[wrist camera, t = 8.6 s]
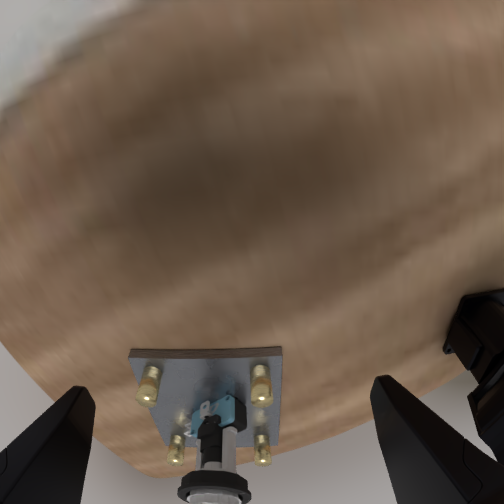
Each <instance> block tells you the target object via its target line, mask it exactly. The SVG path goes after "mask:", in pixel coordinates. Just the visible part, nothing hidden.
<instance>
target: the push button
mask: <svg viewBox="0 0 504 504" xmlns="http://www.w3.org/2000/svg"><path fill="white" fill-rule="evenodd" d="M205 405H207V406H206V407H204V406H205ZM189 425H191V427H190V426H189ZM185 427H187V428H189V429H190V430H189V431H187V432H184V434H185V435H187V436H188V437H191V436H194V437H195V438H197V439H198V440H197V441H196V444H197V457H196V470H195V471H192V472H190V473H188V474H187V475H185V476H184V477H183V478H182V482H181V486H180V487H179V488H178V493H177V494H178V497H179V498H181V499H182V500H184V501H186V502H188V503H190V504H246V503H248V502H249V501H250V500H251V492H250V491H249V490H248V483H247V480H246V479H244V478H243V477H241V476H239V475H238V474H237V472H236V434H237V433H239V432H241V431H243V430H245V429H246V428H247V407H246V406H245V405H244V404H242V403H241V402H239V401H238V400H236V399H235V398H233V397H232V396H230V395H227V396H225V397H224V398H222V399H220V400H218V401H216V402H214V403H212V404H210V401H206V402H204V403H202V404H201V406H200V409H199V410H197V411H195V412H194V413H193V415H192V421H191V422H190V423H188V424H186V425H185ZM188 433H190V434H188Z"/></svg>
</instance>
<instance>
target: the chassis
mask: <svg viewBox="0 0 504 504" xmlns="http://www.w3.org/2000/svg"><path fill="white" fill-rule="evenodd" d="M128 359H129V362H130V364H131V367H132V369H133V372H134V375H135V377H136V380H137V382H138V385H139V388H138V391H137V395H136V401H137V403H139V404H140V405H142V406H144V407H148V408H149V411H150V413H151V415H152V417H153V420H154V422H155V424H156V426H157V428H158V430H159V433H160V435H161V437H162V439H163V441H164V443H165V445H166V446H169V450H168V457H167V463H168V464H170V465H173V466H182V465H183V460H184V450H185V447H197V444H196V441H197V440H198V439H197V438H195V437H194V436H191V437H188V436H187V435H185V434H184V432H187V431H189V430H190V429H189V428H187V427H185V425H186V424H188V423H190V422H191V421H192V415H193V413H194V412H195V411H197V410H199V409H200V406H201V404H202V403H204V402H206V401H210V404H212V403H214V402H216V401H218V400H220V399H222V398H224V397H225V396H227V395H230V396H232V397H233V398H235V399H236V400H238V401H239V402H241V403H242V404H244V405H245V406H246V407H247V428H246V429H245V430H243V431H241V432H239V433H237V434H236V447H254V455H255V465H257V466H268V465H270V464H271V463H272V461H271V450H270V446H275V445H278V436H279V418H280V398H281V377H282V350H281V347H269V348H250V349H224V350H139V349H131V351H130V353H129V356H128ZM206 406H207V405H205V406H204V407H206ZM189 426H190V427H191V425H189ZM188 434H190V433H188Z"/></svg>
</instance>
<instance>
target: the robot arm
mask: <svg viewBox="0 0 504 504" xmlns="http://www.w3.org/2000/svg"><path fill="white" fill-rule="evenodd" d="M443 352H444V353H445V354H451V353H456V355H457V356H458V358H459V359H460V361H461V362H462V364H463V365H464V367H465V368H466V370H470V371H471V373H472V374H473V376H474V377H475V379H476V380H477V382H478V384H479V385H478V386H477V388H475V390H474V391H473V392H471V393H470V394H469V395H468V396H467V398H468V401H469V405H470V408H471V411H472V414H473V418H474V421H475V425H476V429H477V432H478V435H479V437H480V438H481V439H482V440H483V441H484V442H485V444H487V445H488V446H489V447H490V448H491V450H492V451H493V453H494V455H495V457H496V459H497V461H495V460H494V459H492V458H490V457H489V456H488V455H486V454H485V453H483V452H482V451H481V450H479V449H478V448H477V447H476V446H474V445H473V444H472V443H471V442H469V441H468V440H467V439H464V437H463V436H462V435H461V434H460V433H458V432H457V431H456V430H455V429H454V428H452V427H451V426H450V425H448V423H446V422H445V421H444V420H443V419H442V418H440V417H439V416H438V415H437V414H436V413H434V412H433V411H432V410H431V409H430V408H428V407H427V406H426V405H425V404H424V403H422V402H421V401H420V400H419V399H418V398H416V397H415V396H414V395H413V394H412V393H410V392H409V391H408V390H407V389H406V388H404V387H403V386H402V385H401V384H400V383H398V382H397V381H396V380H395V379H394V378H392V377H391V376H390V375H382V376H377V377H376V378H375V380H374V383H373V386H372V390H371V393H370V400H371V405H372V410H373V415H374V420H375V426H376V431H377V436H378V440H379V444H380V447H381V450H382V454H383V457H384V460H385V463H386V466H387V469H388V473H389V477H390V480H391V483H392V487H393V490H394V493H395V497H396V501H397V504H504V289H503V290H497V291H491V292H486V293H479V294H473V295H467V296H465V297H463V298H462V300H461V302H460V305H459V308H458V311H457V314H456V317H455V320H454V322H453V325H452V328H451V330H450V333H449V336H448V338H447V341H446V343H445V346H444V348H443ZM95 409H96V407H95V402H94V400H93V398H92V397H91V395H90V393H89V392H88V390H87V388H86V387H84V386H73V387H72V388H71V389H69V390H68V391H67V392H66V393H65V394H64V395H63V396H62V397H61V398H59V399H58V400H57V401H56V402H55V403H54V404H53V405H52V406H51V407H50V408H48V409H47V410H46V411H45V412H44V413H43V414H42V415H41V416H40V417H39V418H37V419H36V420H35V421H34V422H33V423H32V424H31V425H30V426H29V427H28V428H26V429H25V430H24V431H23V432H22V433H21V434H20V435H19V436H18V437H17V438H16V439H14V440H13V441H12V442H11V443H10V444H9V445H8V446H7V448H5V449H4V450H2V451H1V452H0V504H80V502H81V497H82V491H83V485H84V480H85V475H86V469H87V464H88V459H89V455H90V450H91V443H92V434H93V425H94V417H95Z"/></svg>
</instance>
